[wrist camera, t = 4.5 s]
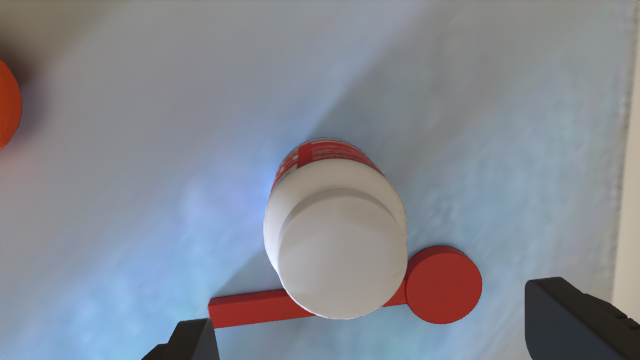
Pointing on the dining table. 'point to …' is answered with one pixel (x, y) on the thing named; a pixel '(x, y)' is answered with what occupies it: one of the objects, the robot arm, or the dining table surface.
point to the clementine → (8, 104)
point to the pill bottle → (335, 230)
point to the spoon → (415, 290)
